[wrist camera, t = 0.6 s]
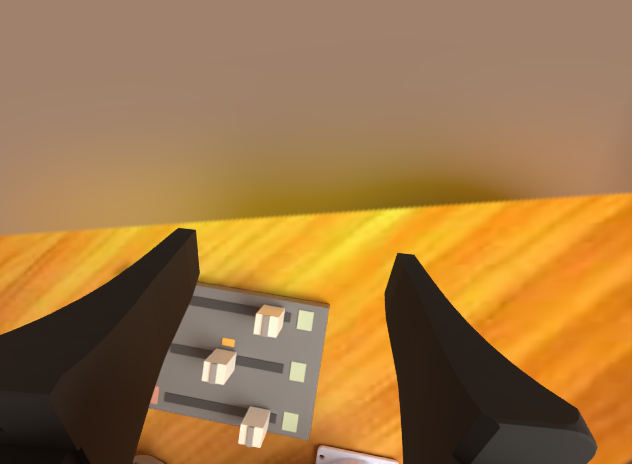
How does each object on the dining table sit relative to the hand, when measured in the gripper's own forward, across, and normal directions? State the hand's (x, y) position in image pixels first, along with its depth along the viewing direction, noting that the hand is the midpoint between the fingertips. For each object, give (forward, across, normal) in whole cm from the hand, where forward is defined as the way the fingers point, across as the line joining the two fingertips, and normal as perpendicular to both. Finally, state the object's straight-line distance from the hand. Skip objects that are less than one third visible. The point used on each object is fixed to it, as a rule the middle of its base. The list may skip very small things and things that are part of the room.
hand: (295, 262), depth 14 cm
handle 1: (+13, +2, +19) cm, 23 cm away
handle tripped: (+11, +6, +23) cm, 26 cm away
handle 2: (+8, +2, +27) cm, 28 cm away
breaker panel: (+13, +6, +24) cm, 28 cm away
